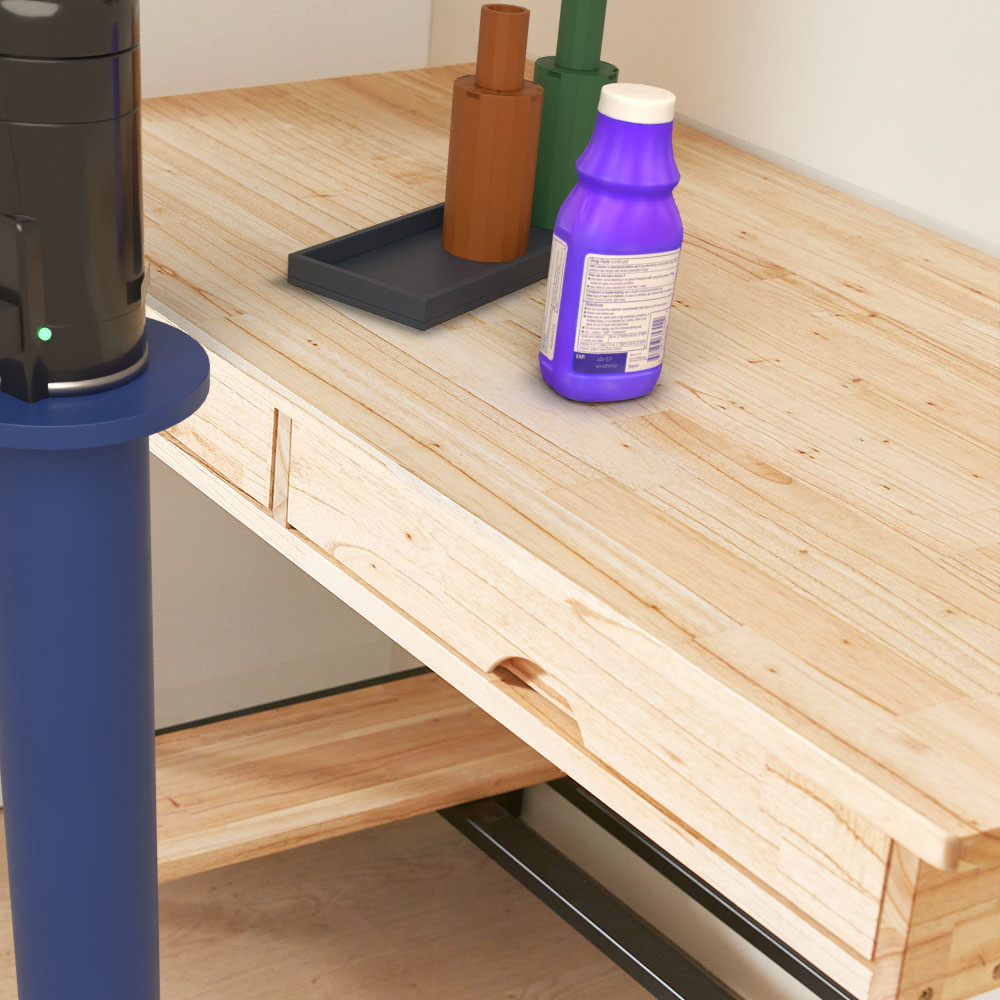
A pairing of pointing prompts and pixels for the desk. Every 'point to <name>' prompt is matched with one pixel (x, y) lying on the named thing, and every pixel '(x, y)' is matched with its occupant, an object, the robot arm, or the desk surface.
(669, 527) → the desk surface
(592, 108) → the green bottle
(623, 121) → the bottle
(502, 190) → the amber bottle
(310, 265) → the tray
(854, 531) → the desk surface
